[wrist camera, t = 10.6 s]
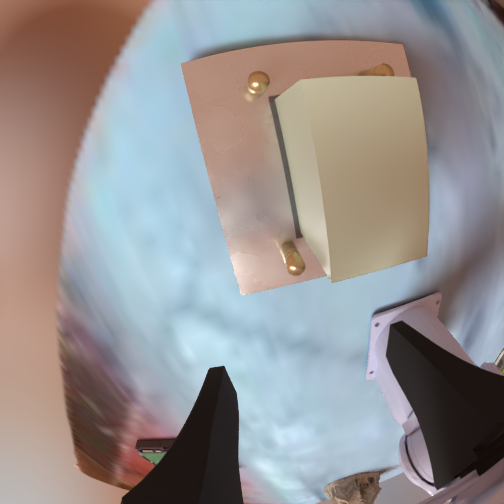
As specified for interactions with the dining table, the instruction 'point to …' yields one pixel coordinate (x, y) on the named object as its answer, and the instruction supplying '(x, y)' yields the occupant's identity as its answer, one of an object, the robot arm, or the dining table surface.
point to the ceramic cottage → (354, 489)
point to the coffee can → (500, 362)
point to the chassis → (267, 146)
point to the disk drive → (153, 449)
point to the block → (358, 170)
